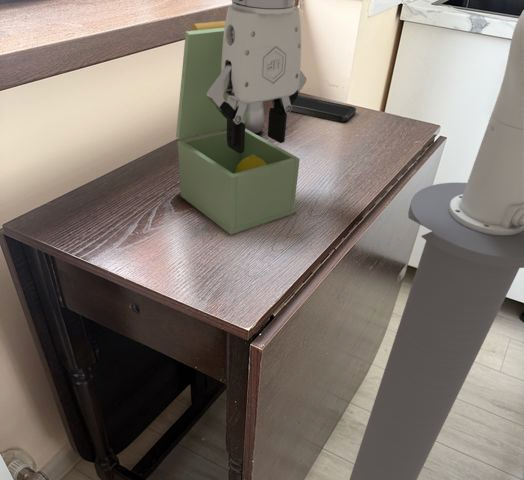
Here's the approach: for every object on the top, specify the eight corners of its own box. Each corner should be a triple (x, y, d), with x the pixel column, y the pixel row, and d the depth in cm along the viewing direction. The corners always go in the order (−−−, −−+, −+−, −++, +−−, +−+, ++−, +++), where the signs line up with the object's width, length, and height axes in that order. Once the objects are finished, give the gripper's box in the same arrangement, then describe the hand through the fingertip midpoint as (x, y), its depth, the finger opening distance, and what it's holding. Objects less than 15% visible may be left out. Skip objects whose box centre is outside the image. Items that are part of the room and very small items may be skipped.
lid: (265, 26, 69) (244, 8, 71) (189, 34, 63) (168, 14, 65) (244, 125, 81) (227, 107, 83) (178, 139, 75) (161, 120, 77)
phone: (346, 117, 110) (283, 103, 114) (345, 123, 110) (282, 109, 114) (357, 107, 115) (296, 94, 119) (356, 112, 116) (296, 99, 120)
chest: (293, 213, 80) (299, 158, 74) (230, 234, 74) (232, 177, 68) (241, 179, 88) (242, 126, 82) (180, 196, 82) (177, 141, 76)
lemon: (268, 197, 81) (270, 147, 76) (271, 214, 77) (273, 162, 72) (234, 197, 81) (233, 147, 75) (235, 214, 77) (234, 163, 71)
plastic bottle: (255, 140, 100) (261, 22, 87) (225, 133, 102) (226, 16, 89) (269, 130, 105) (276, 16, 91) (239, 123, 107) (242, 11, 93)
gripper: (221, 4, 54) (221, 167, 66) (337, -5, 62) (318, 142, 75) (184, -9, 58) (190, 147, 70) (298, -15, 66) (286, 125, 79)
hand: (256, 143), depth 72 cm, fingers open, 6 cm apart
